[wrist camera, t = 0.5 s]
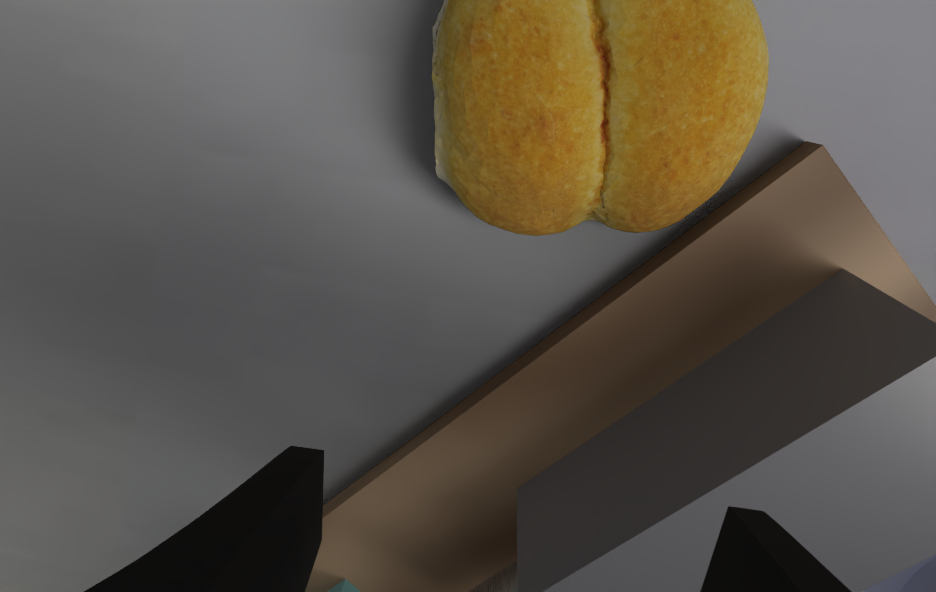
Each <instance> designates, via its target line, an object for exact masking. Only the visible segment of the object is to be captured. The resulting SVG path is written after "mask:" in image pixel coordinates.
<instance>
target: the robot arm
mask: <svg viewBox="0 0 936 592" xmlns="http://www.w3.org/2000/svg"><path fill="white" fill-rule="evenodd" d="M323 471H324V450H318V449H310V448H303V447H296V446H290V447H289V448H287V449H286V450H284V451H283V452H282V453H281V454H279V455H278V456H277V457H275V458H274V459H273V460H272V461H270V462H269V463H268V464H267V465H265V466H264V467H263V468H262V469H260V470H259V471H258V472H257V473H255V474H254V475H253V476H252V477H250V478H249V479H248V480H247V481H245V482H244V483H243V484H241V485H240V486H239V487H238V488H236V489H235V490H234V491H233V492H231V493H230V494H229V495H227V496H226V497H225V498H223V499H222V500H221V501H219V502H218V503H217V504H215V505H214V506H213V507H211V508H210V509H209V510H208V511H206V512H205V513H204V514H202V515H201V516H200V517H198V518H197V519H195V520H194V521H193V522H191V523H190V524H189V525H187V526H186V527H184V528H183V529H181V530H180V531H178V532H177V533H176V534H174V535H173V536H171V537H170V538H168V539H167V540H165V541H164V542H163V543H161V544H160V545H158V546H157V547H155V548H154V549H152V550H151V551H150V552H148V553H147V554H145V555H144V556H142V557H140V558H139V559H137V560H136V561H134V562H133V563H131V564H130V565H128V566H126V567H125V568H123V569H121V570H120V571H118V572H117V573H115V574H113V575H112V576H110V577H108V578H106V579H105V580H103V581H101V582H100V583H98V584H96V585H94V586H93V587H91V588H89V589H88V590H86V591H84V592H305V590H306V587H307V584H308V581H309V578H310V575H311V572H312V569H313V566H314V563H315V560H316V557H317V554H318V551H319V548H320V545H321V541H322V515H323ZM700 592H852V591H850V590H849V589H848V588H847V587H846V586H845V585H844V584H843V583H842V582H841V581H840V580H839V579H838V578H836V577H835V576H834V575H833V574H832V573H831V572H830V571H829V570H828V569H827V568H826V567H825V566H824V565H823V564H821V563H820V562H819V561H818V560H817V559H816V558H815V557H814V556H813V555H812V554H811V553H810V552H809V551H808V550H806V549H805V548H804V547H803V546H802V545H801V544H800V543H799V542H798V541H797V540H796V539H795V538H794V537H793V536H791V535H790V534H789V533H788V532H787V531H786V530H785V529H784V528H783V527H782V526H780V525H779V524H778V523H777V522H776V521H775V520H774V519H772V518H771V517H770V516H769V515H768V514H767V513H765V512H764V511H760V510H753V509H746V508H738V507H731V506H728V508H727V511H726V514H725V518H724V521H723V524H722V527H721V530H720V533H719V536H718V539H717V542H716V545H715V548H714V551H713V554H712V557H711V561H710V564H709V567H708V570H707V573H706V576H705V579H704V582H703V585H702V588H701V591H700ZM861 592H936V554H935V555H933V556H931V557H929V558H927V559H925V560H923V561H921V562H919V563H917V564H915V565H913V566H911V567H909V568H907V569H905V570H903V571H901V572H899V573H897V574H895V575H893V576H891V577H889V578H887V579H885V580H883V581H881V582H879V583H877V584H875V585H873V586H871V587H869V588H867V589H865V590H863V591H861Z"/></svg>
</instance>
